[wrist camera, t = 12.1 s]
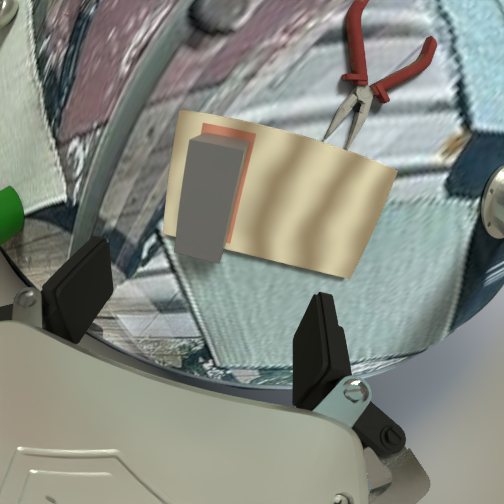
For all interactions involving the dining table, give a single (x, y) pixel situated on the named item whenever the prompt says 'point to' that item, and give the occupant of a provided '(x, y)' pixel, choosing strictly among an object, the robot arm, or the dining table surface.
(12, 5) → the plastic bottle
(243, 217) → the board
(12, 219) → the green cylindrical container
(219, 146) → the block
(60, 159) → the dining table surface
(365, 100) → the pliers
